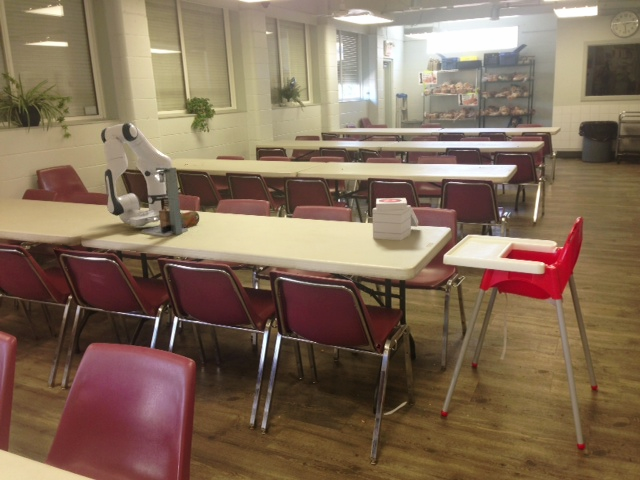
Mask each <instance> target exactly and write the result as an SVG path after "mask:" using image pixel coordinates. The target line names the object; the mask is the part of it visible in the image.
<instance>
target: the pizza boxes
mask: <svg viewBox="0 0 640 480" xmlns="http://www.w3.org/2000/svg"><path fill="white" fill-rule="evenodd" d="M406 198H407V197H392V198H390V197H389V198H385V197H384V198H376V199H375V200H376V201H375V206H376V207H374V208H372V239H380V240H393V241H403V240H404V239H405V238H407V237H408V236H410V235H412V231H411V230H412V227H418V226H419V220H418V217H417V216H416V214H415V212H414V210H413V207H412V206H411V205H409V204H408V201H407V199H406Z"/></svg>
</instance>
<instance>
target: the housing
mask: <svg viewBox="0 0 640 480" xmlns="http://www.w3.org/2000/svg"><path fill="white" fill-rule="evenodd" d="M159 216H160V220H159V223H160V224H159V226H161V227H163V226H167V225H171V221H170V211H169V209H167V207H166V206H165V207H164V210H160V211H159Z"/></svg>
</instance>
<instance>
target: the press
mask: <svg viewBox="0 0 640 480" xmlns="http://www.w3.org/2000/svg"><path fill="white" fill-rule="evenodd" d="M158 173H159V180H160V183H162V182H165V183H166V192H167V194H168V201H169V211H170V221H171V225H167V226H163V227H161V226H160V225H158V226H155V227H150V228H146V229H142V230H141V234H145V233H146V234H147V235H153V236H156V235H157V237H163V238H166V237H170V236H179V235H183V233H186V232H189V228H188V227H186V228H182V224H181V214H180V211H181V205H180V196H179V195H180V194H179V185H178V174H177V167H173V166H172V167H157V168H156V171H151V172H150V171H145V176H150V175H152V174H158ZM185 231H186V232H185Z"/></svg>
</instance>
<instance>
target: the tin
mask: <svg viewBox="0 0 640 480" xmlns="http://www.w3.org/2000/svg"><path fill="white" fill-rule="evenodd" d="M199 221H200V215H199V212H197V211H196V210H190V211H186V212H183V213H181V224H182V227H183V228H184V227H186V228H188V226H190V227H194V226H196V225H198V223H199ZM193 225H194V226H193Z"/></svg>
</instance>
